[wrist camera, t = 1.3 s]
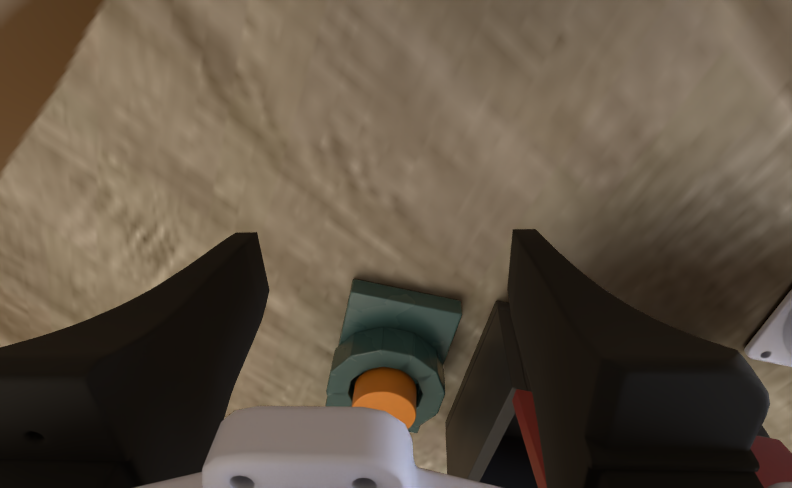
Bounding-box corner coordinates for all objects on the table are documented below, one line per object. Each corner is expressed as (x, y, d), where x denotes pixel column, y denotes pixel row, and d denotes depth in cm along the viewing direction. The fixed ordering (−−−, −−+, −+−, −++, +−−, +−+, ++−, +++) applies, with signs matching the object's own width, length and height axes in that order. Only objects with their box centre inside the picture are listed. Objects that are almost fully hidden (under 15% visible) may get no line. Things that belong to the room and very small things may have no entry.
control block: (464, 300, 28) (467, 338, 26) (419, 418, 34) (419, 459, 31) (350, 277, 28) (343, 313, 25) (323, 400, 33) (315, 441, 31)
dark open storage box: (625, 456, 35) (661, 552, 29) (445, 422, 34) (448, 515, 28) (708, 343, 29) (770, 437, 24) (495, 299, 28) (512, 387, 23)
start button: (423, 373, 28) (423, 398, 26) (408, 414, 30) (407, 440, 28) (360, 361, 27) (357, 386, 26) (350, 403, 29) (346, 429, 28)
